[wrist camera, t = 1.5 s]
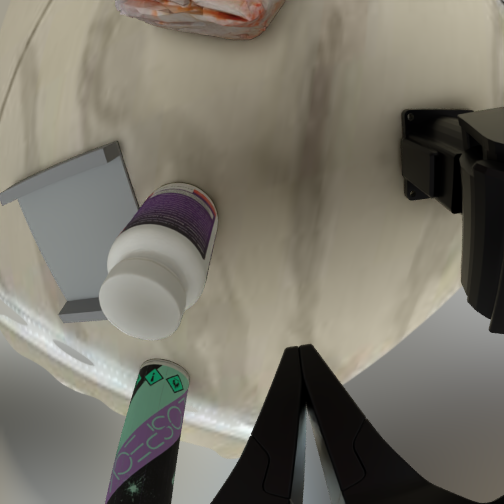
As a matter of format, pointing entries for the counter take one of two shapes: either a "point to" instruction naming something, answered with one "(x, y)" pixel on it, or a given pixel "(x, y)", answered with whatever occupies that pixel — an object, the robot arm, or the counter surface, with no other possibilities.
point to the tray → (78, 222)
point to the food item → (205, 15)
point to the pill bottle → (160, 262)
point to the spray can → (150, 436)
